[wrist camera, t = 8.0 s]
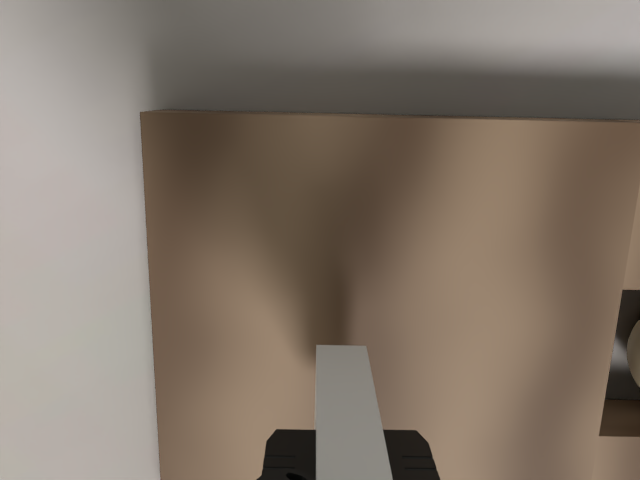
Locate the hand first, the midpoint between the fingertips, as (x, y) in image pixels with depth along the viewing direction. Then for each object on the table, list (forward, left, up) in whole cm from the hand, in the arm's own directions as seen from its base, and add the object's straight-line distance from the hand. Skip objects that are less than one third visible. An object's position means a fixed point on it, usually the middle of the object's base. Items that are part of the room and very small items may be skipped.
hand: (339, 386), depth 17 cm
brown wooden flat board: (-6, 0, -4) cm, 7 cm away
